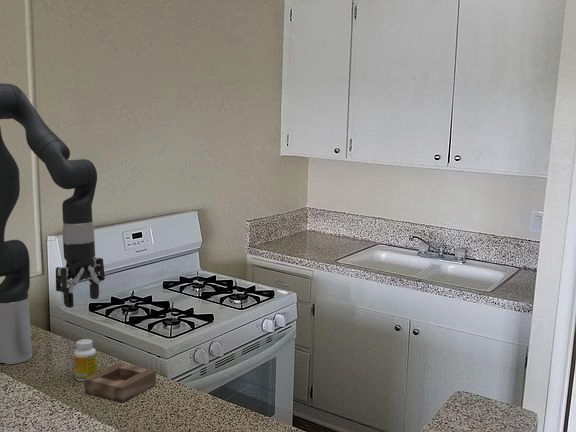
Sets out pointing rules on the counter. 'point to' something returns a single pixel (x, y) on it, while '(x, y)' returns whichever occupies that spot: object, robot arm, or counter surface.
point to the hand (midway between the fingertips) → (82, 302)
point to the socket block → (120, 382)
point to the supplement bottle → (85, 359)
